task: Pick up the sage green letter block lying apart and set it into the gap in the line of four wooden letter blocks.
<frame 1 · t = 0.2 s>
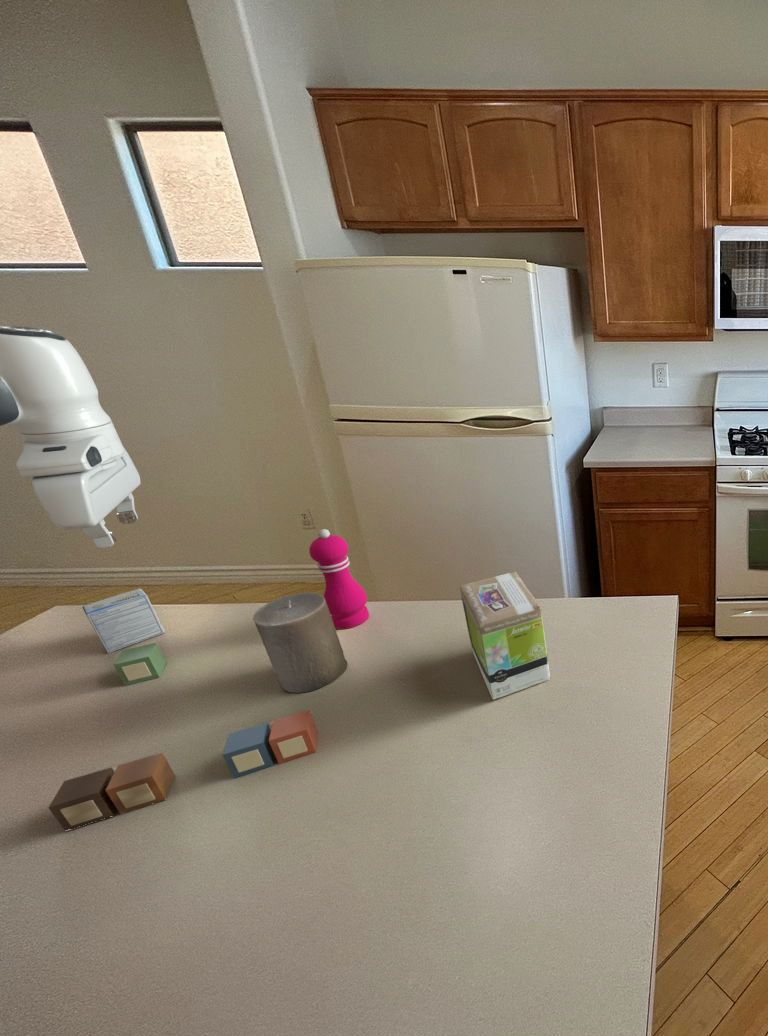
hand: (119, 533, 84), 27 cm above the counter, tool pointing down, fingers open, 8 cm apart
tea box: (511, 667, 98), on the counter
terracotta letter block: (299, 747, 81), on the counter
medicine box: (135, 640, 104), on the counter
pillar candle: (314, 675, 95), on the counter
pepper mill: (351, 620, 110), on the counter
slate blue letter block: (256, 760, 78), on the counter
sage green letter block: (146, 674, 95), on the counter
teak letter block: (149, 794, 73), on the counter
walnut letter block: (97, 810, 71), on the counter
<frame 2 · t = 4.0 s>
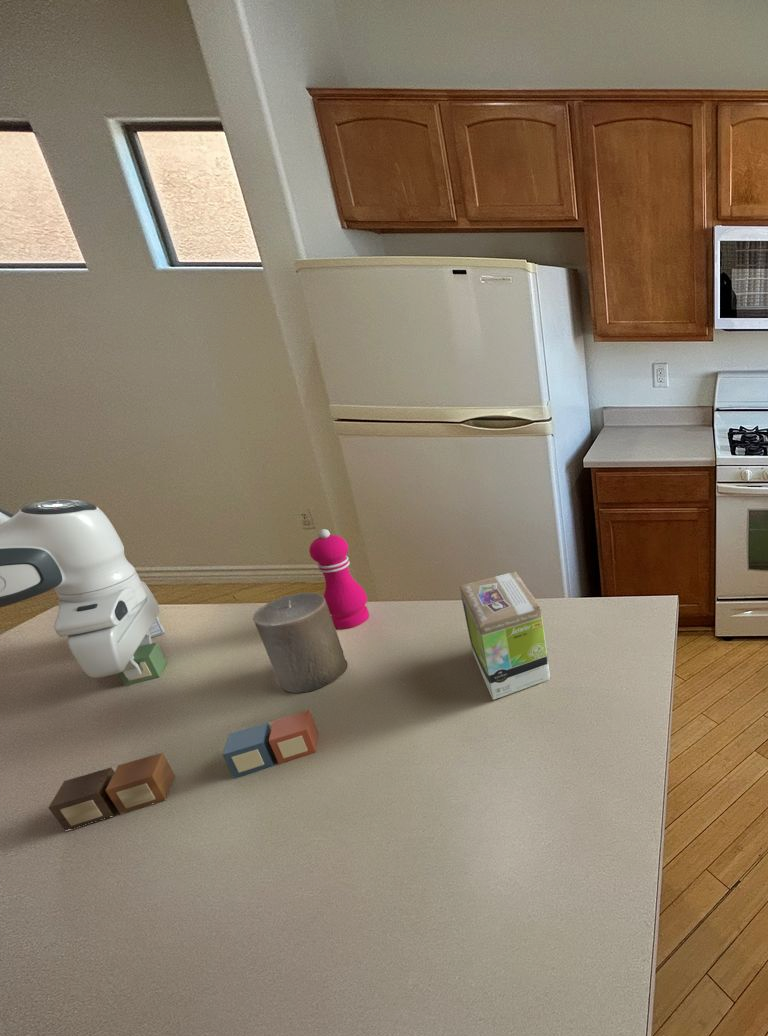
hand: (141, 665, 94), 2 cm above the counter, tool pointing down, fingers closed on sage green letter block, 4 cm apart
sage green letter block: (146, 673, 95), on the counter, touching gripper
everything else where it was.
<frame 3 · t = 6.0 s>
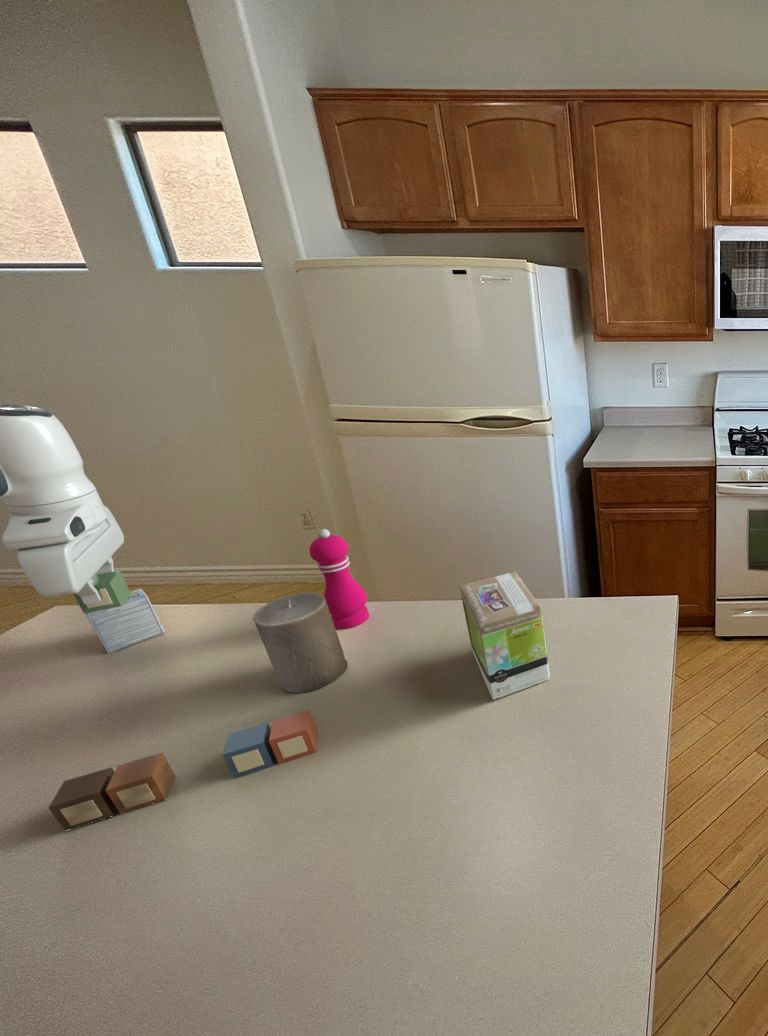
hand: (102, 593, 88), 16 cm above the counter, tool pointing down, fingers closed on sage green letter block, 4 cm apart
sage green letter block: (108, 603, 89), point 14 cm above the counter, touching gripper
everything else where it was.
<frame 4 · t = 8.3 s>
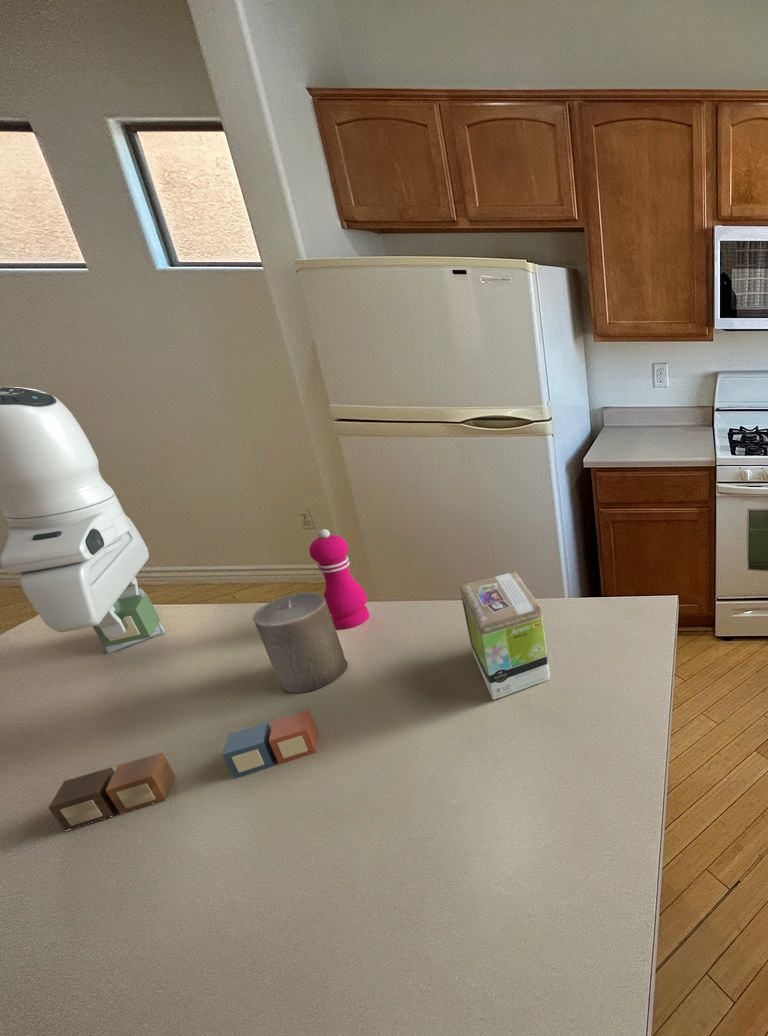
hand: (126, 622, 72), 22 cm above the counter, tool pointing down, fingers closed on sage green letter block, 4 cm apart
sage green letter block: (133, 633, 72), point 20 cm above the counter, touching gripper
everything else where it was.
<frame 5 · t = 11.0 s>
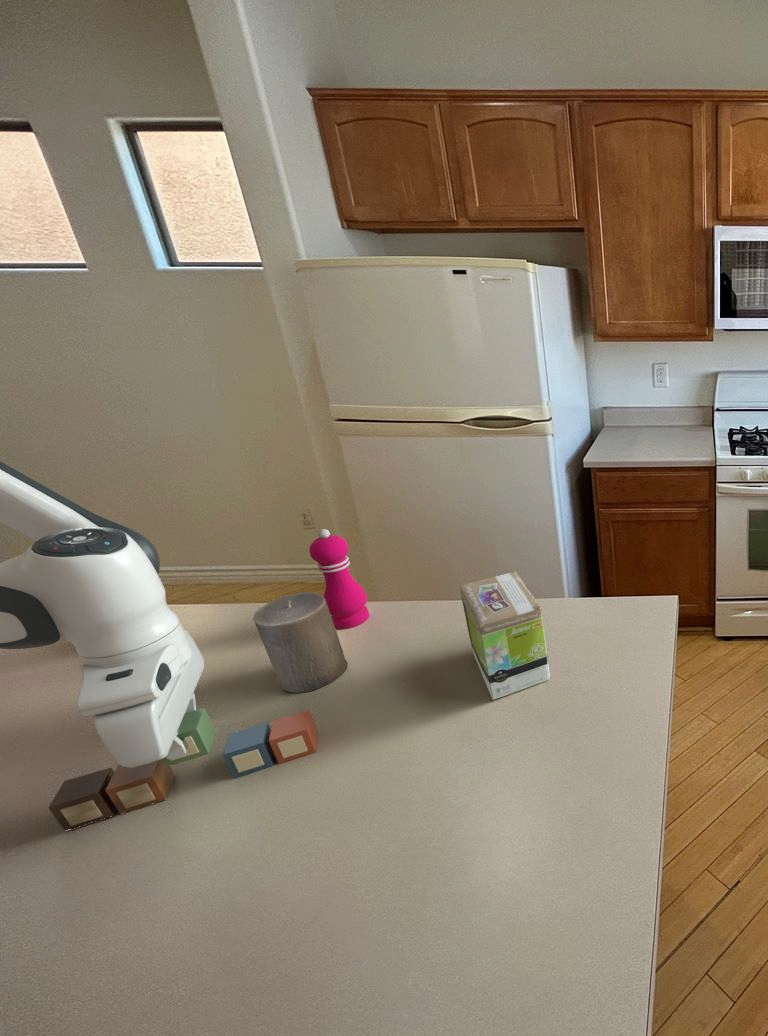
hand: (185, 739, 73), 7 cm above the counter, tool pointing down, fingers closed on sage green letter block, 4 cm apart
sage green letter block: (192, 748, 74), point 5 cm above the counter, touching gripper
everything else where it was.
when the fingers open (2 cm above the counter, at t = 12.8 s): sage green letter block stays where it is, on the counter.
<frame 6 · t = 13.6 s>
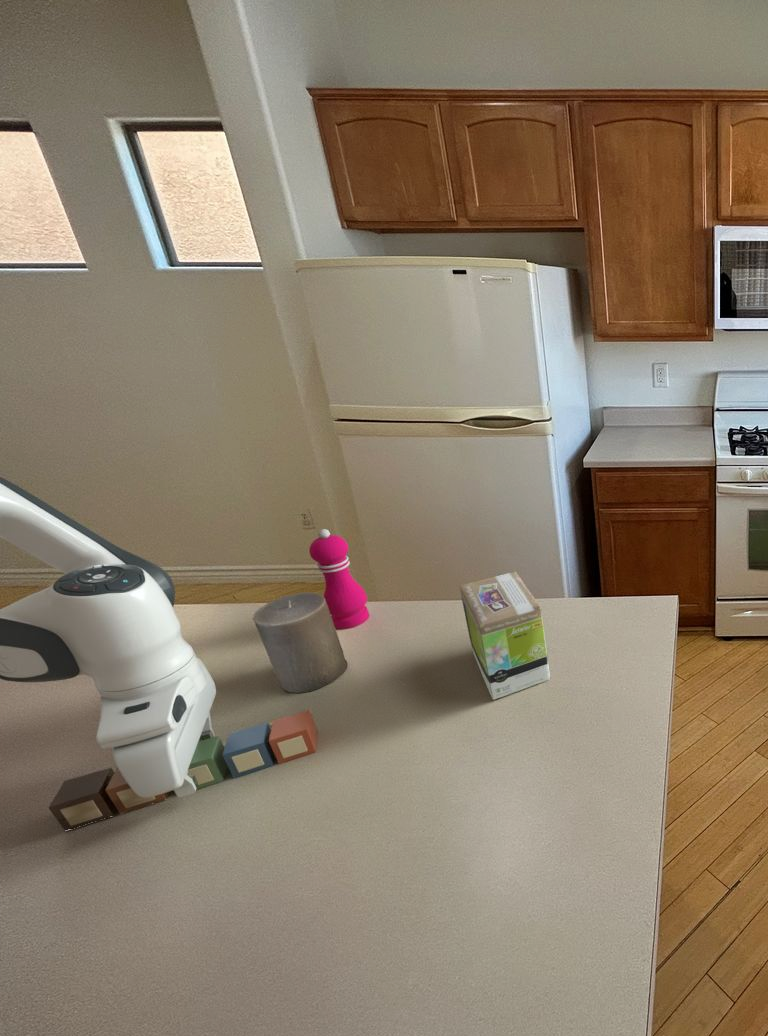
hand: (198, 765, 75), 2 cm above the counter, tool pointing down, fingers open, 8 cm apart
sage green letter block: (206, 775, 76), on the counter
everything else where it was.
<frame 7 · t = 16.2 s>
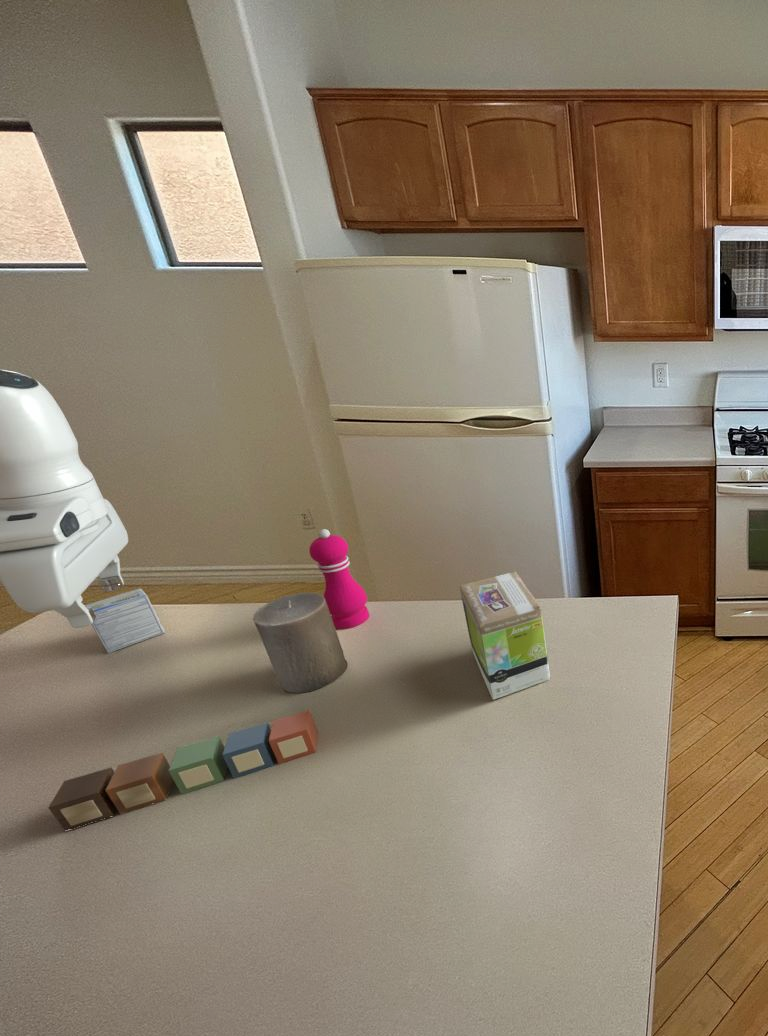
hand: (100, 605, 72), 23 cm above the counter, tool pointing down, fingers open, 8 cm apart
nothing on the counter moved.
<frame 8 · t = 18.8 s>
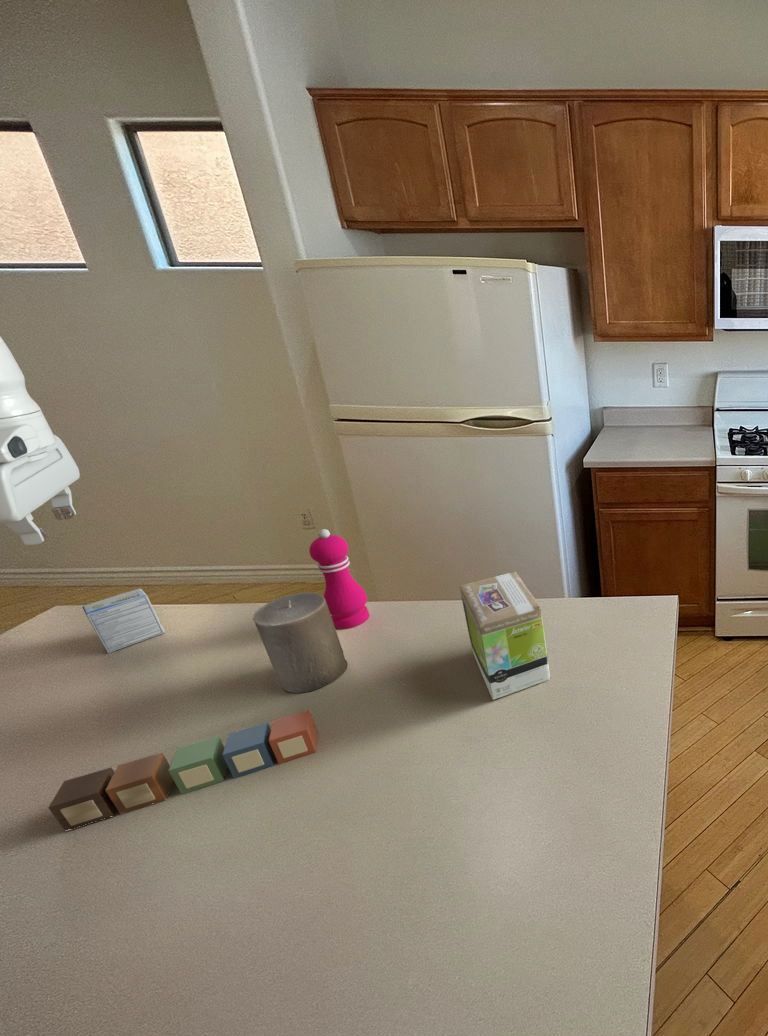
hand: (53, 529, 79), 29 cm above the counter, tool pointing down, fingers open, 8 cm apart
nothing on the counter moved.
at the end: sage green letter block 0.2 cm from the target spot on the counter beside the teak letter block, on the counter; sage green letter block 5.5 cm from the slate blue letter block (horizontally); sage green letter block tilted 0° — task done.
